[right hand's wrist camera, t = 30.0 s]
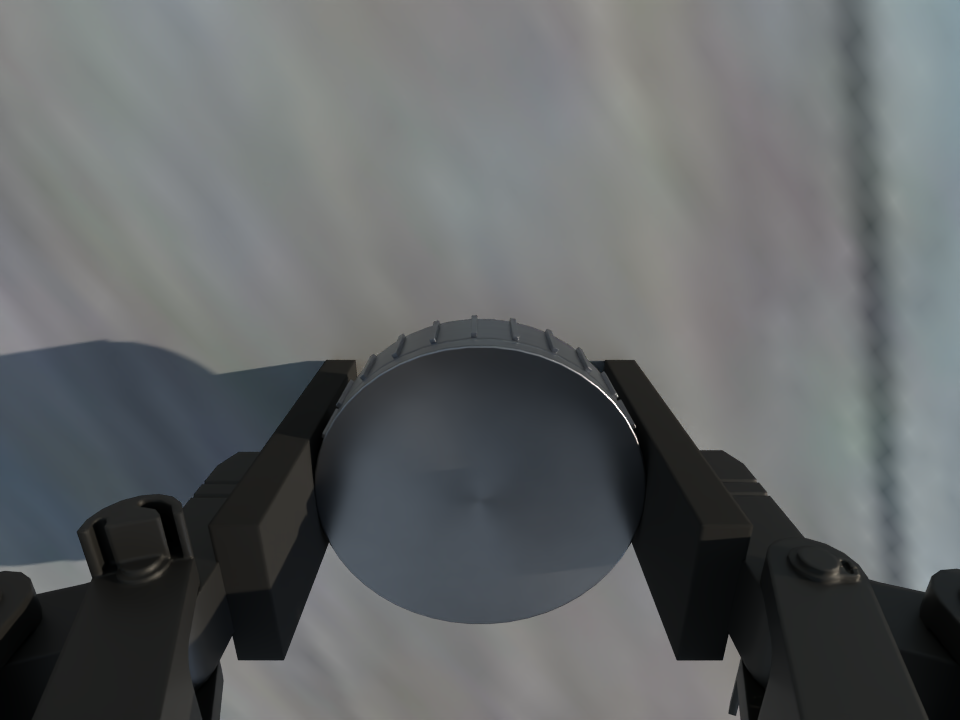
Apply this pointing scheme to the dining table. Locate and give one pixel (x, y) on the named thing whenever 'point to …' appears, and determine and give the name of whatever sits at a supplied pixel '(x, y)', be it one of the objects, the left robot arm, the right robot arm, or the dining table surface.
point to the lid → (480, 473)
